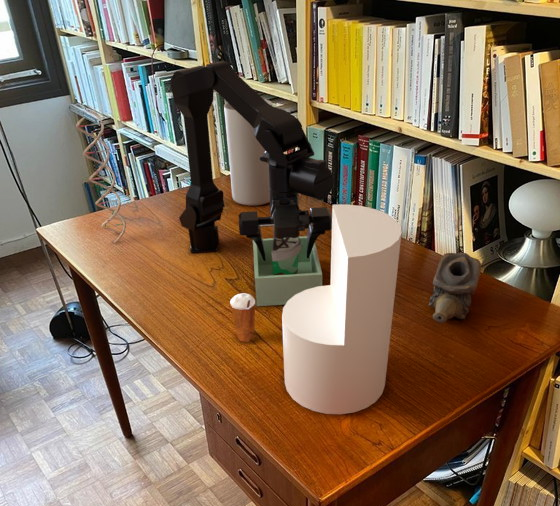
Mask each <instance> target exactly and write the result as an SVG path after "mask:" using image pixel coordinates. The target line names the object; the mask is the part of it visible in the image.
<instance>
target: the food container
mask: <svg viewBox="0 0 560 506" xmlns="http://www.w3.org/2000/svg"><path fill="white" fill-rule="evenodd" d="M272 230H273V238H274V239H273V251H272V265H273V276H275V275H291V274H298V257H299V252H300V251H301V249H302V244H301V240H300V237H301V236H300V235H299V236H298V237H297V238H283V239H277V238H276V237H275V232H274V226H272Z"/></svg>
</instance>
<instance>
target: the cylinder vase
mask: <svg viewBox="0 0 560 506" xmlns="http://www.w3.org/2000/svg"><path fill="white" fill-rule="evenodd" d="M263 99H264V100H265V101H266V102H267V103H268V104H270V105H271V106H273V102H272V101H271V100H269V99H265V98H263ZM223 110H224V121H225V131H226V132H225V133H226V142H227V143H226V145H227V155H228V164H229V175H230V187H231V196H232V200H233V201H234V202H235V203H237V204H239V205H243V206H247V207H248V206H251V207H254V206H255V207H256V206H262V205H266V204H270V194H269V174H268V163H266V162H263V161H260V159H259V158H260V157H261V156H262V155H263V154H264V153H265V152H266V151H265V150H264V148H263V147H262V146H261V144H260V143H259V142H258V141H257V139H256V138H255V134H254V129H253V127H252V126H251V125H250V124H249V123H248V122H247V121H246V120H245V119H244V118H243V117H242V116H241V115H240V114H239V113H238V112H237V111H236V110H235V109H234V108H233V107H232V106H231V105H230V104H229V103H228V102H227V101H226V103H225V104H223Z"/></svg>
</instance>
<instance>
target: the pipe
mask: <svg viewBox="0 0 560 506" xmlns="http://www.w3.org/2000/svg"><path fill="white" fill-rule="evenodd" d="M481 272H482V262H481V261H480V260H479V259H478V258H475V257H472V256H471V255H470V254H468V253H466V252H447V253H444V254H442V256H441V257H440V259H439V262H438V265H437V269H436V272H435V274H434V277H433V281H432V284H433V289H432V293H433V294H432V295H431V296H430V298H429V302H428V306H429V307H431V308H435V310H434V311H435V312H434V313H433V314H432V319H433V320H434V321H435V322H437V323H438V324H445V323H446V321H448V320H449V319H452V318H454V317H455V318H456V319H459V320H465V318H466V316H467V314H468V313H469V308H470V306H471V305H472V296H473V295H474V294H475V291H476V289H477V287H478V284H479V280H480V276H481Z"/></svg>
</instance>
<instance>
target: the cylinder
mask: <svg viewBox="0 0 560 506" xmlns="http://www.w3.org/2000/svg"><path fill="white" fill-rule="evenodd" d="M331 207H332V208H331V217H332V229H331V245H330V246H331V247H330V248H331V249H330V250H331V252H330V284H328V285H322V286H318V287H314V288H310V289H307V290H304V291H302V292H300V293H298V294H296V295H294V296H293V297H292V298H291V299H290V300H288V301H287V303H286V304H285V305H284V306H283V307H282V313H281V322H282V323H281V325H282V327H281V329H282V349H283V352H282V353H283V375H284V377H283V378H284V386H285V390H286V392H287V393H288V395H289V396H290V397H291V399H292V400H293V401H295V402H296V403H297V404H298V405H300V406H301V407H303V408H306V409H308V410H310V411H312V412H317V413H321V414H325V415H345V414H351V413H356V412H359V411H362V410H364V409H367V408H369V407H371V406H372V405H373V404H375V403H376V402H377V401H378V400H379V399H380V397H381V396H382V395H383V392H384V390H385V386H386V379H387V378H386V377H387V369H388V360H389V352H390V351H389V350H390V343H391V334H392V333H391V332H392V325H393V314H394V306H395V305H394V304H395V297H396V287H397V278H398V269H399V262H400V261H399V260H400V251H401V243H402V242H401V241H402V233H403V232H402V228H401V225H400V223H399V222H398V221H397V220H396V219H395V218H394V217H392V216H391V215H390V214H388V213H387V212H384V211H381V210H378V209H376V208H372V207H368V206H363V205H355V204H332V206H331Z"/></svg>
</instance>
